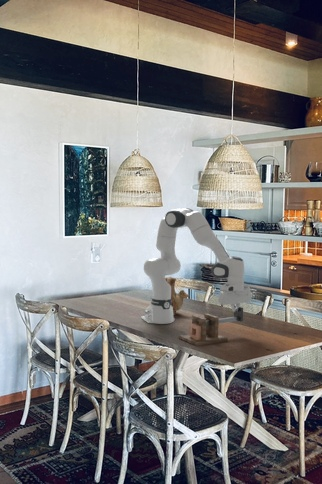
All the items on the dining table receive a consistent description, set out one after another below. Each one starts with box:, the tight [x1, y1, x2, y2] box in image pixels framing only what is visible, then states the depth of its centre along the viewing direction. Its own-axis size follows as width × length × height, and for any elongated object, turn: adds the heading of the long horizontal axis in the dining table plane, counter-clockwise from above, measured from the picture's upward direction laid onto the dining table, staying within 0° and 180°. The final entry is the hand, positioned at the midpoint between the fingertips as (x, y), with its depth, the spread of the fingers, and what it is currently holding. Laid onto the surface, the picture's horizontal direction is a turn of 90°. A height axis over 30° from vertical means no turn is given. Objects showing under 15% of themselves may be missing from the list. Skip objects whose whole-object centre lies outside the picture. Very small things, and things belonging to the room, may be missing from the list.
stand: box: [178, 313, 229, 346], centre depth 276 cm, size 16×20×12 cm
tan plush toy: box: [165, 276, 190, 316], centre depth 337 cm, size 18×19×25 cm
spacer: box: [189, 323, 201, 340], centre depth 273 cm, size 7×2×7 cm, turn 31°
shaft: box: [206, 305, 244, 325], centre depth 282 cm, size 6×25×8 cm, turn 121°
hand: (235, 311), depth 286 cm, fingers closed
